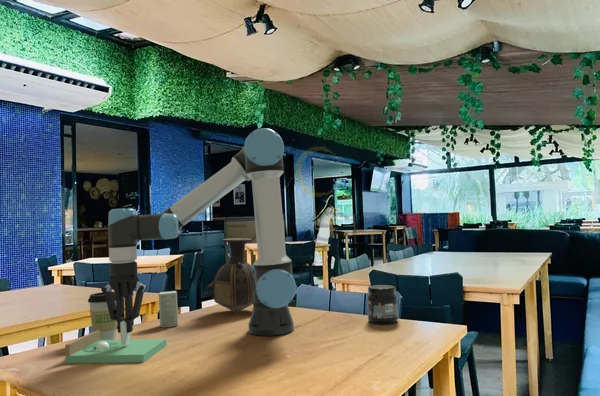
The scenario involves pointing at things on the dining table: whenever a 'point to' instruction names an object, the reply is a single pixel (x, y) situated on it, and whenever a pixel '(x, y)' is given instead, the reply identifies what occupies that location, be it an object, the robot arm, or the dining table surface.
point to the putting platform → (111, 350)
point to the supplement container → (382, 304)
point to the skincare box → (168, 309)
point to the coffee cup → (102, 316)
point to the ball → (102, 345)
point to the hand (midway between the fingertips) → (125, 343)
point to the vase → (234, 279)
